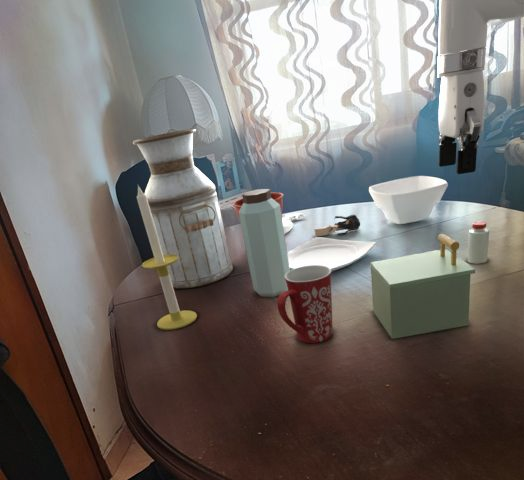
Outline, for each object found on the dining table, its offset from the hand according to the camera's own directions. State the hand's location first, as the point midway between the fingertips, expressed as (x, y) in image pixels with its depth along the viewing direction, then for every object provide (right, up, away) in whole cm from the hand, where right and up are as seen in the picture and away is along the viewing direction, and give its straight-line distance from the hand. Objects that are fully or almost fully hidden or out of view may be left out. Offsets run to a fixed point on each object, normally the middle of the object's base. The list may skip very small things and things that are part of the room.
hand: (456, 168), depth 88 cm
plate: (-19, -9, +46) cm, 51 cm away
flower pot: (-36, 0, +67) cm, 76 cm away
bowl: (+11, +8, +66) cm, 68 cm away
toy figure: (-11, +4, +67) cm, 68 cm away
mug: (-27, -32, +6) cm, 43 cm away
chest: (-5, -28, +6) cm, 29 cm away
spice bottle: (+16, -12, +26) cm, 33 cm away
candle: (-58, -27, +26) cm, 69 cm away
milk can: (-56, -12, +54) cm, 79 cm away
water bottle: (-34, -19, +32) cm, 51 cm away
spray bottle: (-29, +11, +86) cm, 91 cm away
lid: (-7, -19, +1) cm, 20 cm away
